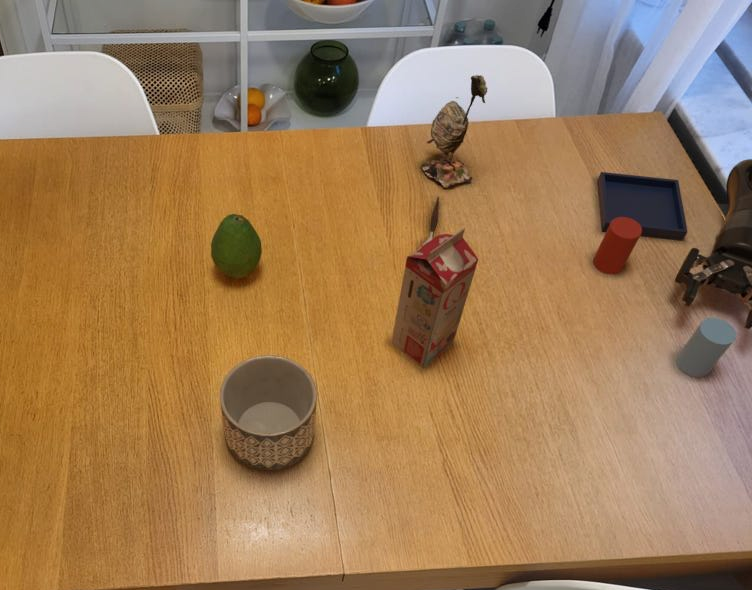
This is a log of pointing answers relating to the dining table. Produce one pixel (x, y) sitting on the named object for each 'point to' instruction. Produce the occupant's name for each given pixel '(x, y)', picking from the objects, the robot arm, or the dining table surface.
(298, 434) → the planter
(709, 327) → the blue pin
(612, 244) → the red cylinder
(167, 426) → the dining table surface
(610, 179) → the blue tray
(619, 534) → the dining table surface
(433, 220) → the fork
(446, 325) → the juice carton
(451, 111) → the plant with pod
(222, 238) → the fruit
